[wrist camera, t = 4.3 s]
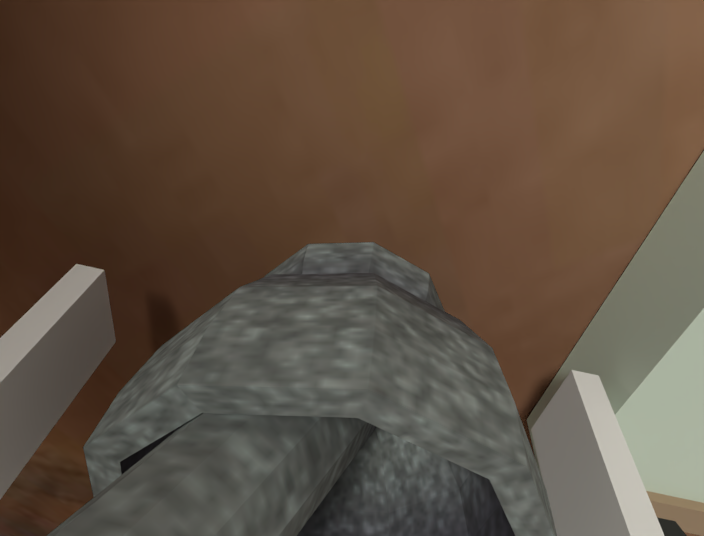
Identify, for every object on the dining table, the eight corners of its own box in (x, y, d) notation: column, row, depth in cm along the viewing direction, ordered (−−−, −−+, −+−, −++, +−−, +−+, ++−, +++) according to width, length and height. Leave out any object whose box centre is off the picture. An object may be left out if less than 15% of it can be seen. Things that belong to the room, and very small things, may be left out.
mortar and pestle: (530, 390, 16) (694, 1056, 7) (294, 433, 19) (172, 938, 10) (426, 75, 11) (504, 1280, 1) (118, 202, 14) (-588, 841, 4)
